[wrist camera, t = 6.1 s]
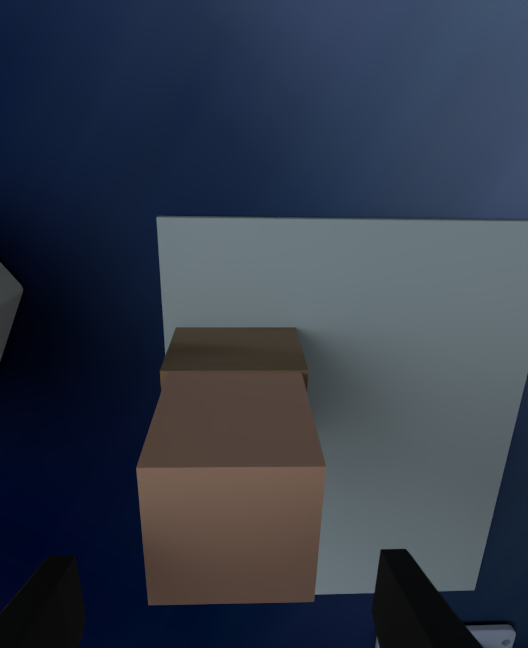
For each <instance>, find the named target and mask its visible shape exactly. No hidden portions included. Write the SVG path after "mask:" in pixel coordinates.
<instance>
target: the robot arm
mask: <svg viewBox="0 0 528 648" xmlns="http://www.w3.org/2000/svg"><path fill="white" fill-rule="evenodd" d="M372 613H373V618H374V623H375V628H376V634H377V639H376V646H375V648H512V646H513V643H514V640H515V636H516V633H515V631H514V629H513V627H512V626H510V625H506V624H504V625H471V626H465V624H464V623H463V622H462V621H461V620H460V618H459V617H458V616H457V615H456V613H455V612H454V611H453V610H452V608H451V607H450V606H449V605H448V603H447V602H446V601H445V599H444V598H443V597H442V596H441V594H440V593H439V592H438V590H437V589H436V588H435V586H434V585H433V584H432V582H431V581H430V580H429V578H428V577H427V576H426V574H425V573H424V572H423V570H422V569H421V568H420V566H419V565H418V564H417V562H416V561H415V559H414V558H413V557H412V555H411V554H410V553H409V552H408V551H407V550H406V549H381V550H380V557H379V564H378V571H377V578H376V585H375V592H374V600H373V607H372ZM85 619H86V616H85V610H84V604H83V598H82V592H81V586H80V580H79V574H78V568H77V562H76V556H48V557H47V558H46V559H45V560H44V561H43V563H42V564H41V565H40V566H39V567H38V569H37V570H36V571H35V572H34V573H33V575H32V576H31V577H30V578H29V579H28V581H27V582H26V583H25V584H24V586H23V587H22V588H21V589H20V590H19V592H18V593H17V594H16V595H15V596H14V598H13V599H12V600H11V601H10V602H9V603H8V605H7V606H6V607H5V608H4V609H3V610H2V612H1V613H0V648H79V645H80V640H81V636H82V632H83V628H84V624H85Z"/></svg>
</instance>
